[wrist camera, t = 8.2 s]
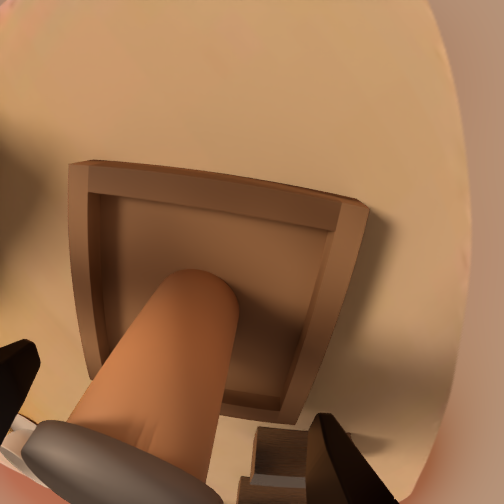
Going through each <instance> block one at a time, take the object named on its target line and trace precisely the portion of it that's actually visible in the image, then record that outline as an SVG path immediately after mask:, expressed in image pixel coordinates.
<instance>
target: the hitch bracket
mask: <svg viewBox="0 0 504 504" xmlns="http://www.w3.org/2000/svg"><path fill="white" fill-rule="evenodd" d="M346 434H347V435H348V436H349V438H350V439H351V434H350V433H346ZM351 440H352V439H351ZM307 442H308V431H295V430H284V429H274V428H265V427H258V428H257V431H256V434H255V437H254V441H253V452H252V463H251V474H250V478H249V477H241V478H240V481H239V484H238V492H237V501H236V504H307V502H306V485H305V474H306V459H307Z"/></svg>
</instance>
